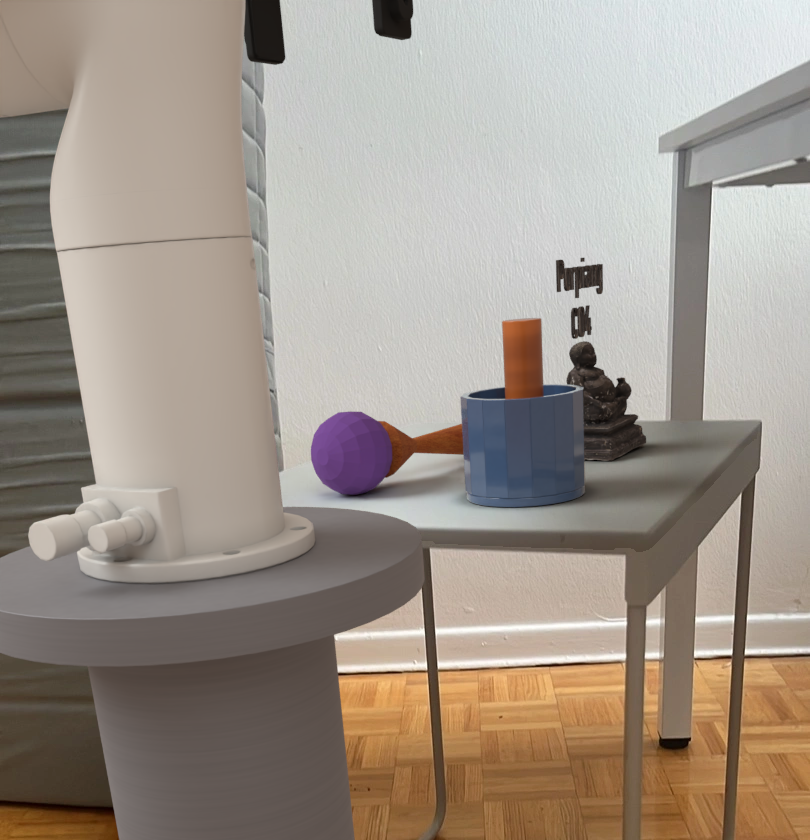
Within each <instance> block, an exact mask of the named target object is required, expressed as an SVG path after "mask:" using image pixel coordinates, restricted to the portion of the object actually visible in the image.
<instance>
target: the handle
mask: <svg viewBox="0 0 810 840" xmlns="http://www.w3.org/2000/svg"><path fill="white" fill-rule="evenodd" d="M542 323H543V322H542V318H541V317H528V318H526V317H525V318H513V319H505V320H502V321H501V330H502V354H503V375H504V377H503V379H504V387H505V399H513V398H530V397H540V396H544V390H543V384H544V363H543V362H544V360H543V359H544V358H543V330H542V329H543V327H542Z"/></svg>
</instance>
